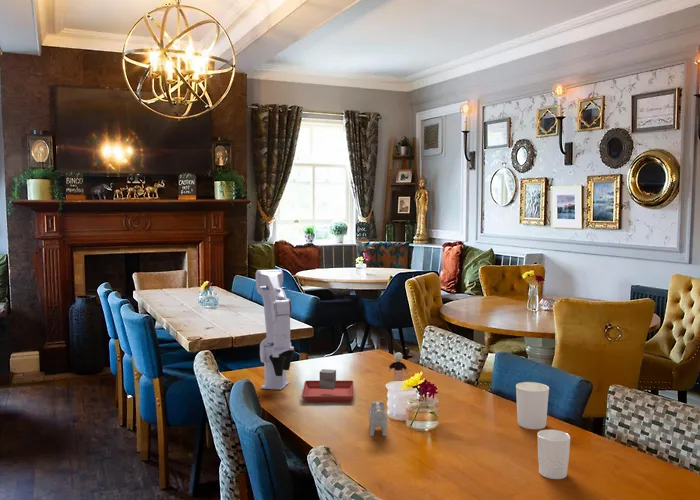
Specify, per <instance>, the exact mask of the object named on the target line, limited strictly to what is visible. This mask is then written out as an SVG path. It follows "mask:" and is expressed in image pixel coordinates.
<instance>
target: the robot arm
mask: <svg viewBox="0 0 700 500" xmlns="http://www.w3.org/2000/svg"><path fill="white" fill-rule="evenodd" d="M283 284H284V272H283V270H282V269H281V268H279V269H257V270H256V272H255V287H256V291H257V294H259V295H261V298H262V301H263V302H262V303H263V310H264V311H263V312H264V320H265V321H264V323H265V324H264V325H265V331H266V332H265V333H266V334H265V335H266V337H265V338H264V339H262V341H261V342H260V344H259V357H260V362H261V363H263V364H264V384H263V385H261V387H260V389H265V390H283V389H284V388H285V387H286V386H287V385H288V384H289V383H290V381H287V380H288V379H287V371H290V368H291V364H292V363H291V362H292V358H293V356H294V354H295V347H294V346H292V342H291V316H292V314H293V305H292V300H291V299H290V298H287V294H286V292H285V290H284V288H282V287H283Z"/></svg>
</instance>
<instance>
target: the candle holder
mask: <svg viewBox="0 0 700 500" xmlns="http://www.w3.org/2000/svg"><path fill="white" fill-rule="evenodd" d="M515 390H516V391H515V392H516V393H515V394H516V395H515V397H516V413H517V414H516V416H517V425H518V426H519V427H521V428H523V429H529V430H543V429H545V427H546V426H547V420H548V419H547V416H548V406H549V405H548V403H549V394H550V393H549V392H550V387H549V386H548V385H547V384H544V383H542V382H541V383H540V382H535V381H523V382H518V383H516V384H515Z"/></svg>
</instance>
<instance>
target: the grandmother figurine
mask: <svg viewBox="0 0 700 500" xmlns="http://www.w3.org/2000/svg"><path fill="white" fill-rule="evenodd" d="M393 359H394V362H392V363H391V364H389V366H388V369H387V372H388V373H389V372H391V371H392V369H393V382H394V381H404V382H405V374H409V371H408V367H407V366H406V364H405V363H404V362H402V360H403V354H402V353H401V352H396V353H394V355H393ZM404 372H405V374H404Z"/></svg>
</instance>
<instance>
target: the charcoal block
mask: <svg viewBox="0 0 700 500" xmlns="http://www.w3.org/2000/svg"><path fill="white" fill-rule="evenodd" d="M319 381H320V389H331V390H333V389H334V388H335V387H336V381H337V369H327V368H326V369H325V368H323V369H321V370H320V371H319Z"/></svg>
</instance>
